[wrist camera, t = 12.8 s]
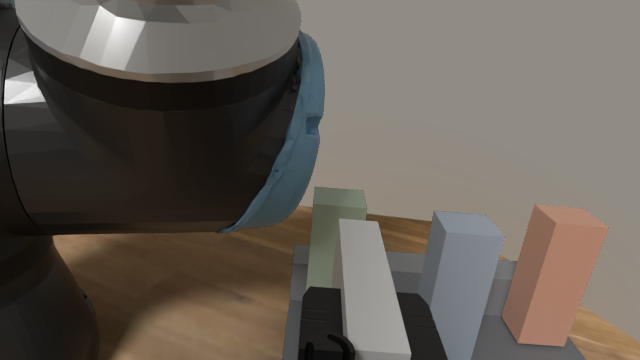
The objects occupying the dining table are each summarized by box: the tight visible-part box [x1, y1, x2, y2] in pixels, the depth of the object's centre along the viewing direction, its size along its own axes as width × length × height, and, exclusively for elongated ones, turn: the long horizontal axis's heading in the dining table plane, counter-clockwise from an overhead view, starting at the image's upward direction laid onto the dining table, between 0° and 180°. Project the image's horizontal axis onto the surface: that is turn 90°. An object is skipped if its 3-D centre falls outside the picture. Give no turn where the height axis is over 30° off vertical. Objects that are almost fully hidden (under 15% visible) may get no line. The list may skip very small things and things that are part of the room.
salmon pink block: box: [502, 205, 609, 347], centre depth 30 cm, size 4×3×10 cm
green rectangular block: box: [306, 187, 367, 291], centre depth 30 cm, size 4×3×10 cm
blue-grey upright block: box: [417, 211, 505, 360], centre depth 28 cm, size 4×3×10 cm
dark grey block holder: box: [282, 244, 586, 360], centre depth 30 cm, size 22×14×5 cm, turn 89°
